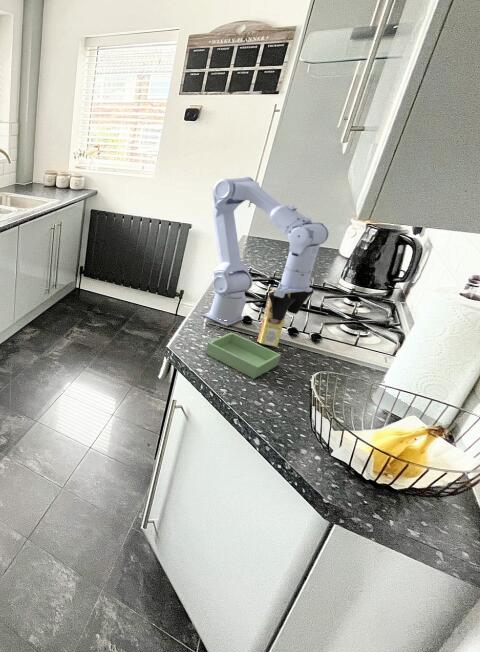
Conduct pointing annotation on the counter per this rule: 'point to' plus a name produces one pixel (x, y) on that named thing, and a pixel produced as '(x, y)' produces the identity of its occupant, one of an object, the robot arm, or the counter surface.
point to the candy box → (270, 326)
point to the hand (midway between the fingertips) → (284, 315)
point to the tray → (243, 354)
